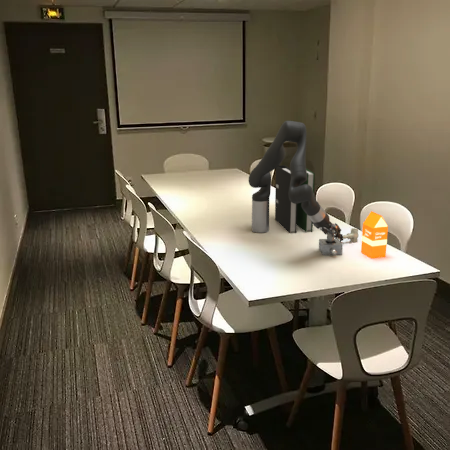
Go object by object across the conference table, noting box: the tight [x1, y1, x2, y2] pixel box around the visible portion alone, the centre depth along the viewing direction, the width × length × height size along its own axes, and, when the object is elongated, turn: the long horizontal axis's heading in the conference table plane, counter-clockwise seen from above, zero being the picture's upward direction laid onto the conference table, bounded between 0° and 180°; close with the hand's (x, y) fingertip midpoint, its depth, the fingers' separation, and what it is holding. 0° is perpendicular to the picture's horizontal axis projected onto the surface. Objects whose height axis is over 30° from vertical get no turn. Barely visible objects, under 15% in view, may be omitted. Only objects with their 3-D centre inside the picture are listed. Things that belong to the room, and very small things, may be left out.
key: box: [326, 223, 335, 243], centre depth 229 cm, size 3×3×13 cm
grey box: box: [318, 238, 343, 256], centre depth 228 cm, size 9×13×5 cm
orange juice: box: [360, 210, 389, 259], centre depth 224 cm, size 8×9×20 cm
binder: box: [274, 164, 316, 234], centre depth 268 cm, size 27×15×32 cm, turn 9°
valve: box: [334, 227, 359, 244], centre depth 243 cm, size 7×7×12 cm
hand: (333, 234), depth 230 cm, fingers open, 7 cm apart
